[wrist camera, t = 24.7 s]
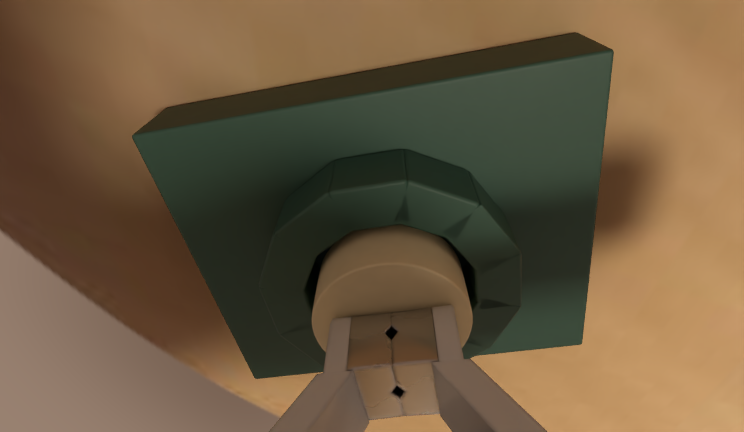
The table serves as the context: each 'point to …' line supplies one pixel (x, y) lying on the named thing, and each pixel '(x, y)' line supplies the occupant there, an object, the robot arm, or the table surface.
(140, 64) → the table surface
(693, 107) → the table surface
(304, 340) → the control block
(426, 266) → the button
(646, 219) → the table surface
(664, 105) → the table surface
